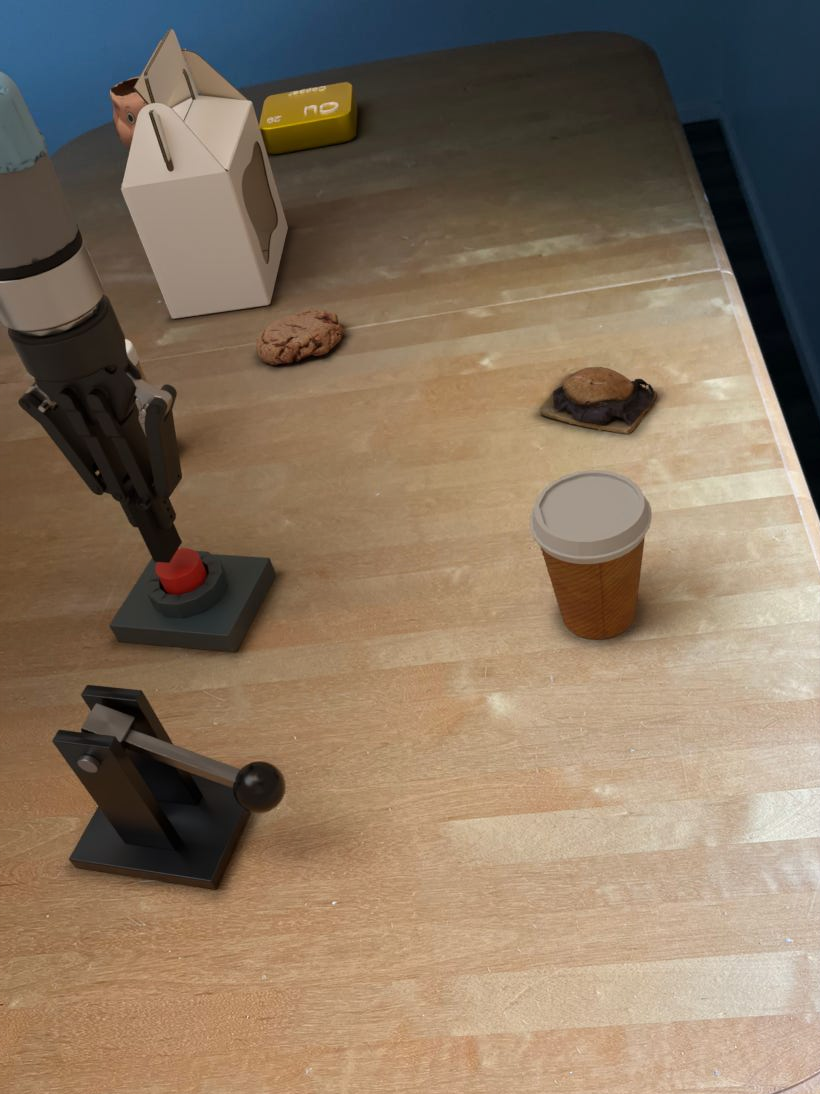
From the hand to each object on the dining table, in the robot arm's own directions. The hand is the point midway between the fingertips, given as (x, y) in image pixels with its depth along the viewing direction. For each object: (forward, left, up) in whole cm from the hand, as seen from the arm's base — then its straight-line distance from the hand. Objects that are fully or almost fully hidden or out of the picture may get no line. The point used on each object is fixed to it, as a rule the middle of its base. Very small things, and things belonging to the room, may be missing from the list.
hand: (168, 551), depth 93 cm
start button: (0, 0, -3) cm, 3 cm away
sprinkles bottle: (-15, +22, -7) cm, 27 cm away
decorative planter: (-48, +95, -7) cm, 106 cm away
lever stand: (+8, -23, -7) cm, 25 cm away
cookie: (-6, +44, -7) cm, 45 cm away
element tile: (-28, +108, -7) cm, 112 cm away
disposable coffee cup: (+37, +3, -7) cm, 38 cm away
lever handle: (+13, -23, +1) cm, 26 cm away
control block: (0, 0, -7) cm, 7 cm away
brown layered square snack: (+32, +33, -7) cm, 47 cm away
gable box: (-23, +62, -7) cm, 66 cm away
